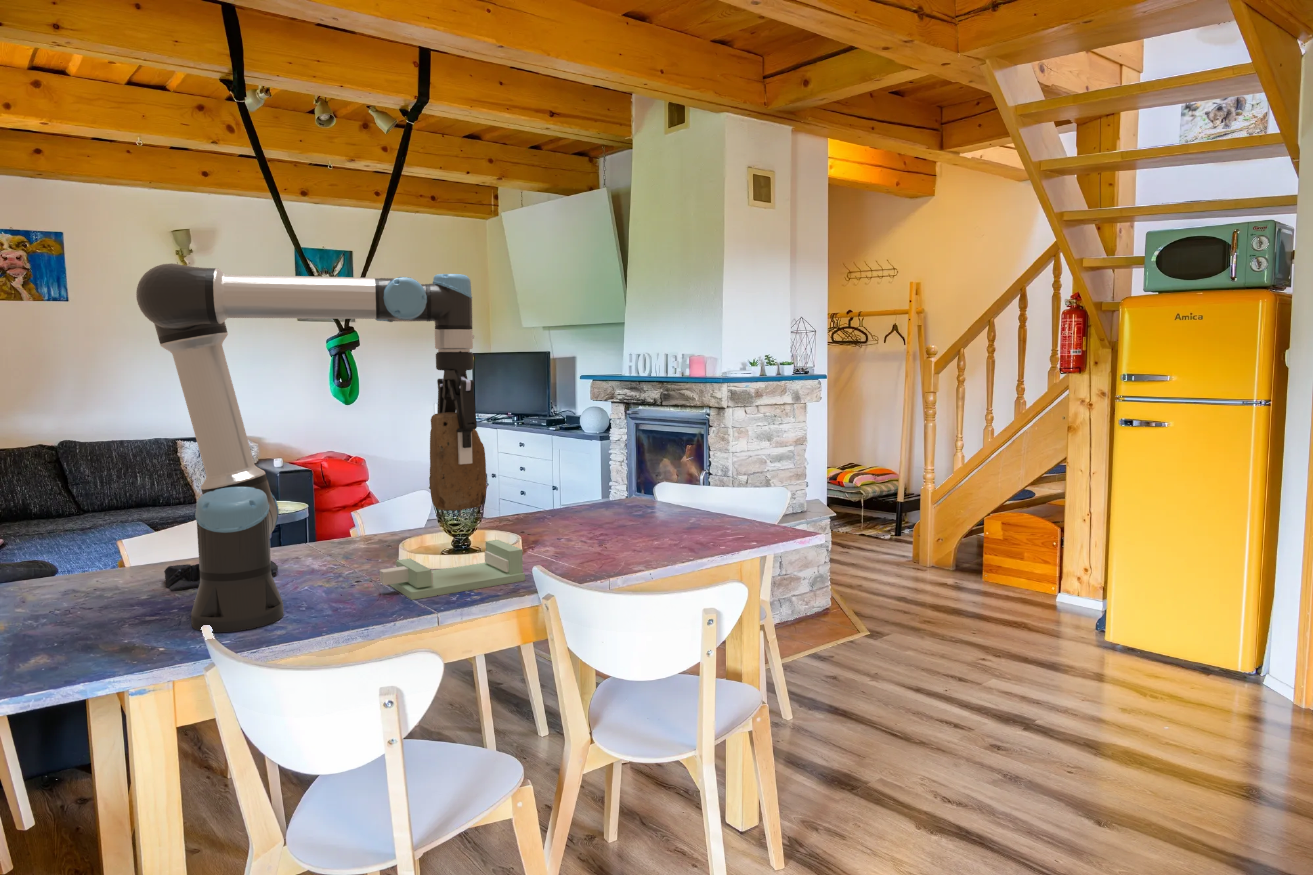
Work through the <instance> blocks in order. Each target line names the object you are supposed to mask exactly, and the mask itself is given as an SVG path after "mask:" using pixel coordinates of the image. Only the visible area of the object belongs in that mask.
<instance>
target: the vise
mask: <svg viewBox="0 0 1313 875" xmlns="http://www.w3.org/2000/svg"><path fill="white" fill-rule="evenodd" d="M523 562H524V561H523V548H521V547H518V546H515V545H513V544H510V543H508V542H505V541H503V540H500V539H494V540H493V539H492V540H485V551H484V562H481V563H480V562H479V563H473V564H466V565H461V566H455V567H454V566H453V567H448V568H441V569H435V570H431V572H433V584H432V586H427V587H421V588H416V587H415V586H413V585H411V584H410V583H408V582H402V583H396V584H390V585H389V586H390V587H391V588H393V589H394V590H396V591H397V592H399V593H401V594H403V595H404V596H405V597H407V599H409V600H412V601H413V600H419V599H425V598H430V597H431V598H432V597H436V596H437V595H438V596H443V595H447V594H455V593H461V592H466V591H473V590H477V589H482V588H483V589H485V588H490V587H495V586H500V585H501V586H502V585H506V584H513V583H514V584H515V583H520V582H525V581H526V573H524V566H523V565H524V564H523Z"/></svg>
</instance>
